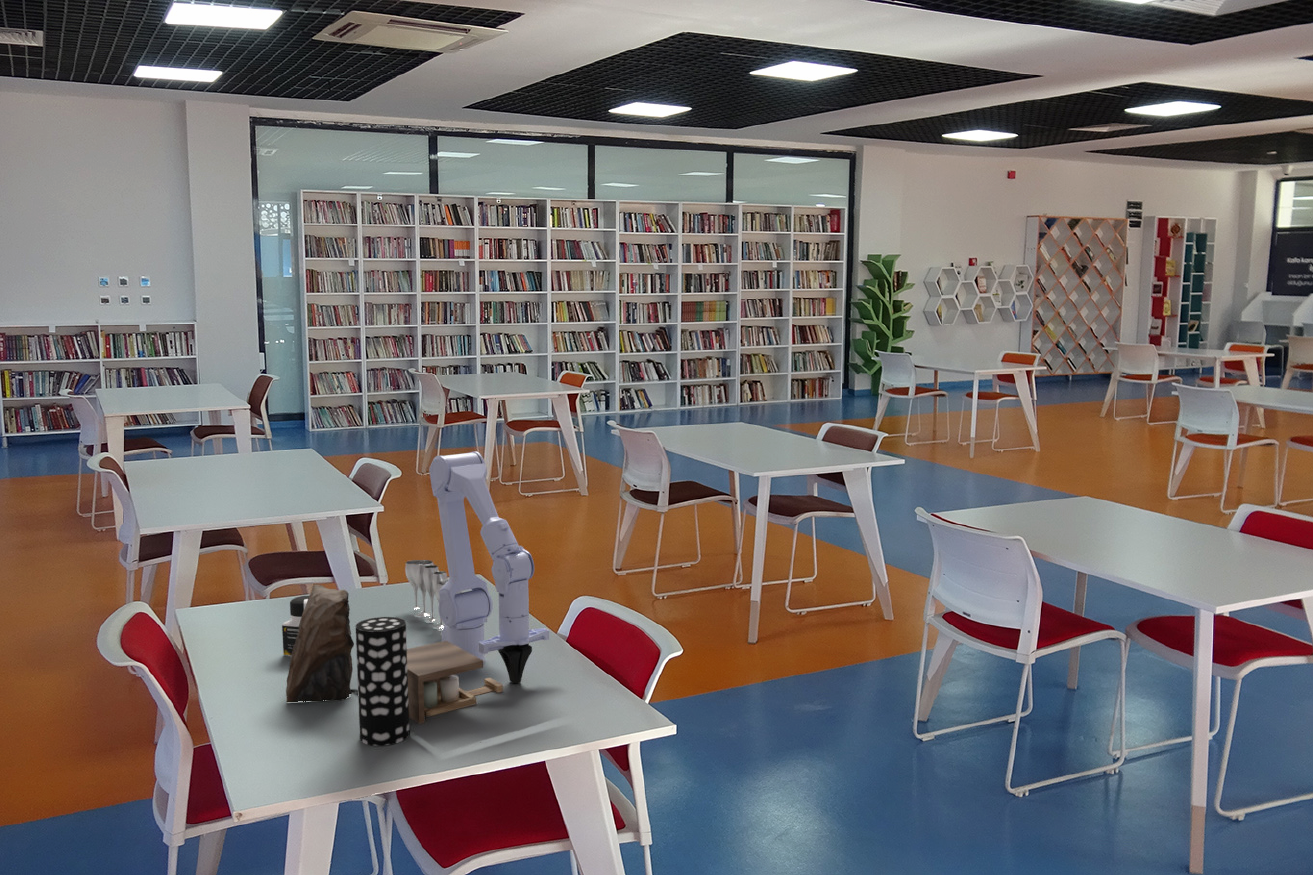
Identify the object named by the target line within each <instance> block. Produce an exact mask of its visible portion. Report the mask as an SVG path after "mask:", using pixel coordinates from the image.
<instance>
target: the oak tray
mask: <svg viewBox="0 0 1313 875" xmlns="http://www.w3.org/2000/svg"><path fill="white" fill-rule="evenodd" d="M483 682H484V686H482V687H477V688H474V689H470V690H467V691H466V690H464V689H463V688H462V687H461V688H460V687H459V700H457V701H455V702H443V701H441V691H440V686H437V696H438V705H437V706H435V707H433V708H426V707H424V717H426V718H427V717H431V716H435V715H440V714H443V713H447V712H449V711H451V712H452V711H455V710H458V709H462V708H467V707H469V706H472V705H473V706H474V705H476V704H477V697H476V696H480V695H485V694H488V693H492V692H496V693H501V692H504V685H503V684H502V683H500V682H498V681H497V680H495V679H493V678H491V677H486V678H484V680H483Z"/></svg>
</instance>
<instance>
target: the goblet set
mask: <svg viewBox="0 0 1313 875" xmlns="http://www.w3.org/2000/svg"><path fill="white" fill-rule="evenodd" d="M404 572H405V576H406V578H407V581H408V582H409V584H410V585H411V586H412V588H413V591H414V600H415V606H413V607H414V610H415V609H416V610H417V609H420V607H421V606H418V590H420V592H421V596H422V607H423V611H422V612H419V613H420V614H418V613H417V614H418V615H417V616H421V617H423V616H424V617H426V616H430V613H432V617H431V618H427V620H429V621H430V622H431V621H432V622H433V621H435V620H439V619H440V622H439V624H438V625H439V626H437V625H436V626H437V627H436V628H439V629H440V628H441V629H442V628H443V627H444V625H445V624H443V621H442V620H441V618H440V617H439V618H434V616H433V613H434V600H435V599H434V598H435V597H436V600H437V601H438V603H439V590H440V589H441V588H442V587H443V586H444V584H445V583H446V582H447V581H448V580H449V579H448V574H447V572H446V571H444V570H443V571H442V570H441V571H440V570H439V566H438V565H437V564H434V561H433V560H430V559H420V560H419V559H412V560H407V561H406V562H405V569H404ZM426 593H428V595H429V598H430V606H431V612H430V613H425V612H426V610H425V608H426ZM458 593H463V591H459V592H457V593H456V594H458ZM440 635H441V636H442V634H441V633H440V634H439V636H440ZM441 636H440V637H441Z"/></svg>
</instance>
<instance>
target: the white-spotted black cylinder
mask: <svg viewBox="0 0 1313 875" xmlns="http://www.w3.org/2000/svg"><path fill="white" fill-rule="evenodd" d="M407 644H408V643H407V622H406V619H402V618H400V617H397V616H396V617H395V616H378V617H373V618H368V619H363V620H361V621H359V622H357V623H356V624H355V646H356V647H355V648H356V649H355V650H356V668H357V669H356V672H357V676H356V677H357V697H358V720H359V721H358V724H359V739H360V742H362V743H363V744H364V745H368V746H372V747H373V746H374V747H375V746H376V747H377V746H378V747H383V746H391V745H396V744H399V743H401V742H403V741H404V740H406V739H407V738H408V737H409V736H410V717H409V702H408V673H407V649H408V648H407V647H408V645H407Z"/></svg>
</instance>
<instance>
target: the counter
mask: <svg viewBox="0 0 1313 875" xmlns="http://www.w3.org/2000/svg"><path fill="white" fill-rule="evenodd" d="M482 668H484V662H483V660H481V659H479V658H477V657H476V656H474V655H472V654H470V653H468V652H467V651H465V650H463V649H461V648H459V647H457V646H456V645H454V644H452V643H450V642H448V641H442V640H441V641H439V642H434V643H429V644H425V645H420V646H416V647H411V648H407V673H408V702H409V719H411V720H413V721H414V722H416V723H417V724H418V725H421V724H425V723H426V722H425V716H424V687H423V682H425V681H435V682H437V686H440V678H442V677H446V676H450V675H458V674H462V673H466V672H471V671H475V670H478V669H482Z"/></svg>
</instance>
